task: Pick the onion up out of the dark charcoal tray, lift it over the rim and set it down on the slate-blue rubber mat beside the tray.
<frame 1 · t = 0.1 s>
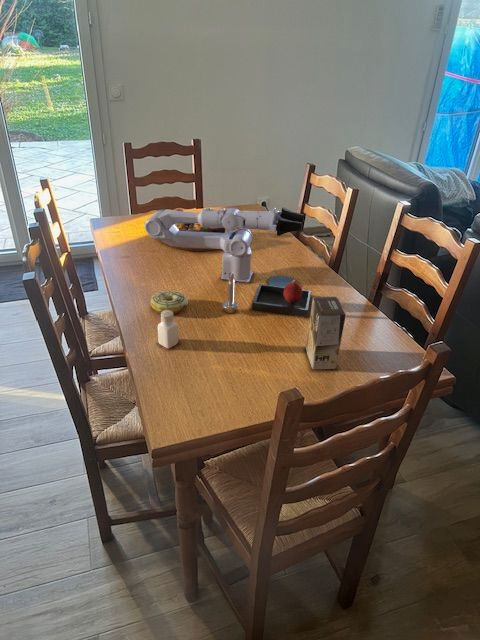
hand: (302, 222, 145), 22 cm above the table, tool horizontal, fingers open, 7 cm apart
decorated donut: (169, 307, 140), on the table
screw: (230, 311, 140), on the table
mat: (282, 283, 156), on the table
coffee box: (320, 359, 122), on the table
onion: (291, 303, 145), resting on tray
tray: (281, 303, 145), on the table
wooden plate: (196, 236, 188), on the table
salt shaker: (168, 344, 124), on the table
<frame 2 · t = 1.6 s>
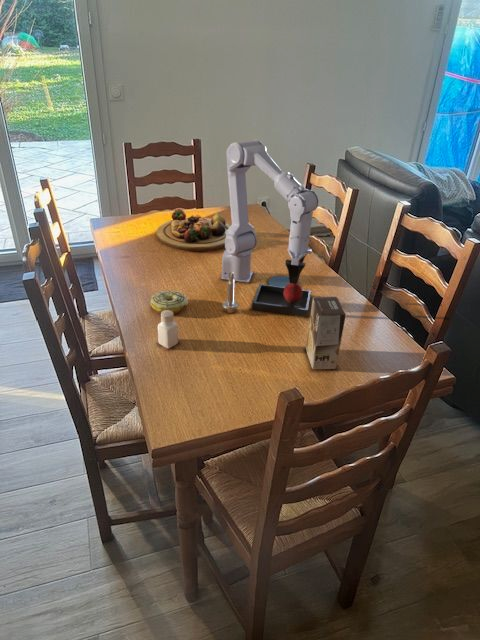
hand: (294, 277, 140), 9 cm above the table, tool pointing down, fingers open, 7 cm apart
nothing on the table moved.
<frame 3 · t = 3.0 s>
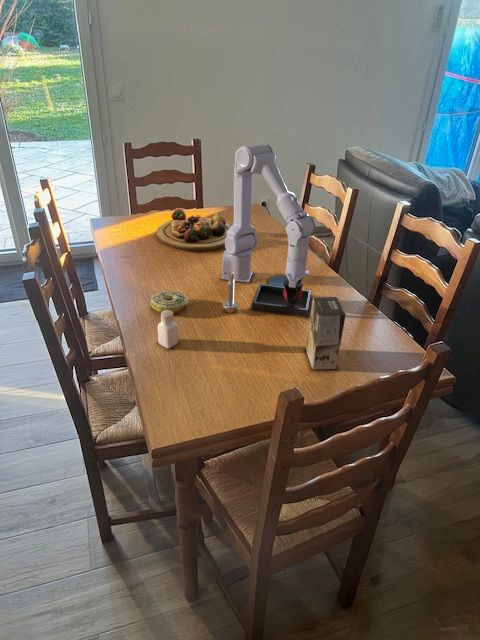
hand: (292, 297, 143), 2 cm above the table, tool pointing down, fingers closed on onion, 6 cm apart
onion: (291, 303, 145), resting on tray, touching gripper
everything else where it was.
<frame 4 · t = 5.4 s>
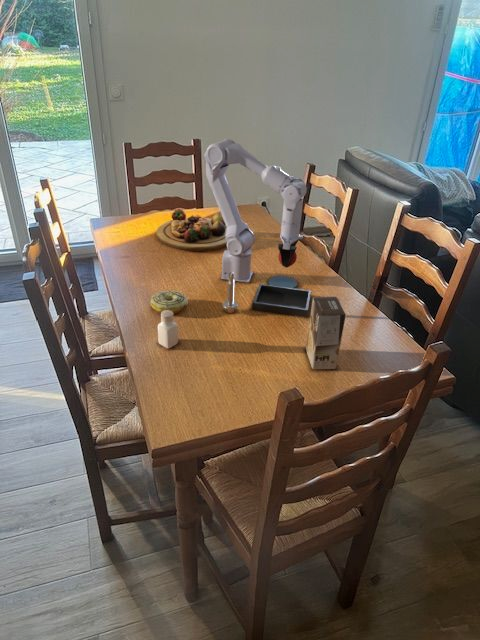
hand: (286, 261, 149), 9 cm above the table, tool pointing down, fingers closed on onion, 6 cm apart
onion: (286, 268, 150), point 7 cm above the table, touching gripper
everything else where it was.
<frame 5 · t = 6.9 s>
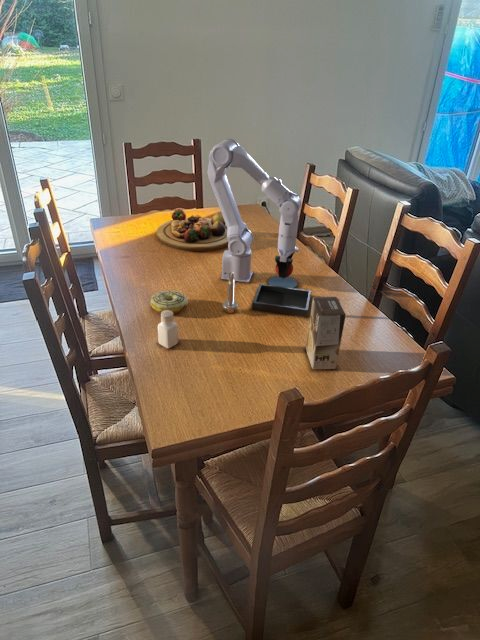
hand: (283, 273, 154), 4 cm above the table, tool pointing down, fingers closed on onion, 6 cm apart
onion: (283, 278, 155), point 2 cm above the table, touching gripper
everything else where it was.
when the fingers open (2 cm above the table, at t = 7.9 s): onion stays where it is, resting on mat.
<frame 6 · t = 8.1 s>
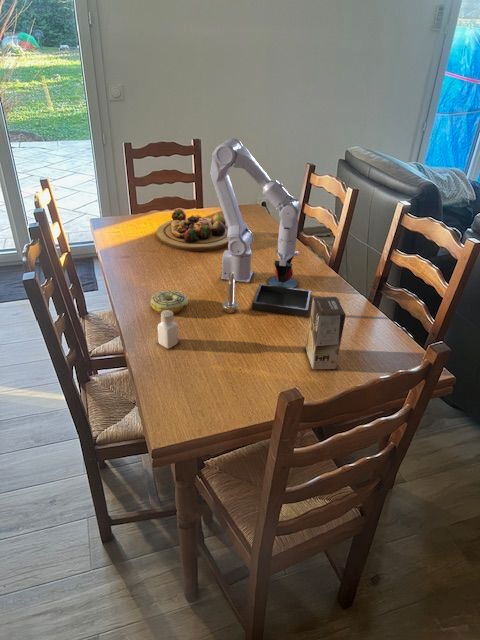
hand: (283, 276, 155), 3 cm above the table, tool pointing down, fingers open, 7 cm apart
onion: (282, 282, 156), resting on mat
everything else where it was.
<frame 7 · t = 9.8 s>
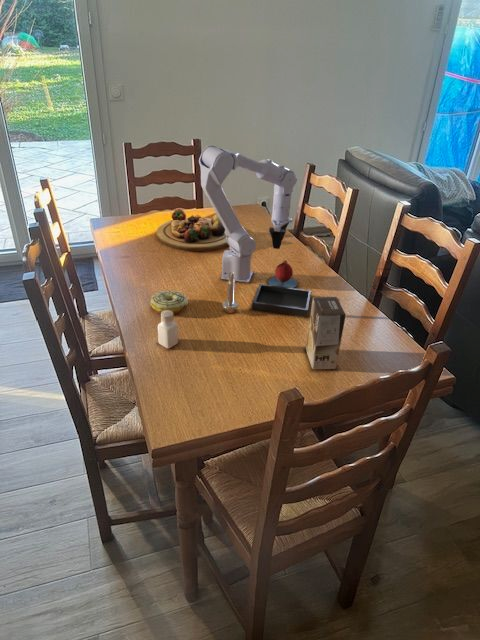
hand: (278, 244, 161), 9 cm above the table, tool pointing down, fingers open, 7 cm apart
nothing on the table moved.
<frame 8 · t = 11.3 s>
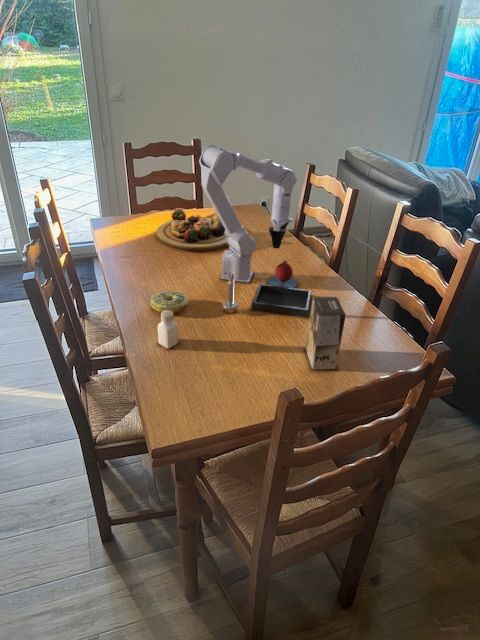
hand: (277, 243, 161), 9 cm above the table, tool pointing down, fingers open, 7 cm apart
nothing on the table moved.
at the end: onion 0.0 cm off-centre on the mat, point 0.3 cm above the mat's base; onion touching mat; the gripper is holding nothing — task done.
